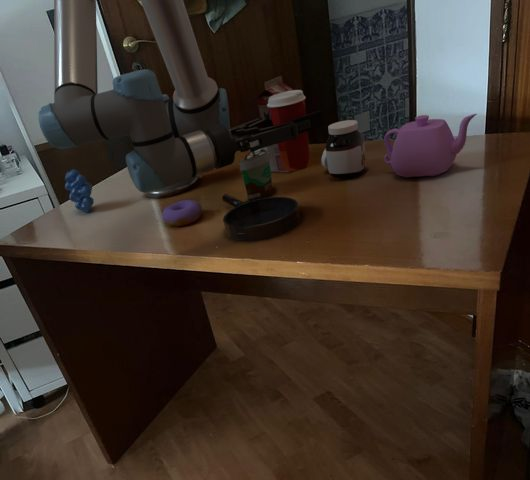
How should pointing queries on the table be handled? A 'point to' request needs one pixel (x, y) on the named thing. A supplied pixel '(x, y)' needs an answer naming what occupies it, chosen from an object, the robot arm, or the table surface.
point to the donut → (182, 213)
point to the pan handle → (232, 200)
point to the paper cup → (283, 112)
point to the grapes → (79, 190)
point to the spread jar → (344, 150)
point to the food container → (257, 174)
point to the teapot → (425, 146)
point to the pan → (262, 218)
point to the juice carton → (270, 89)
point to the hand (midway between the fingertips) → (310, 116)
